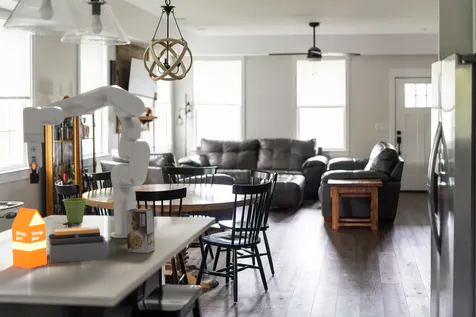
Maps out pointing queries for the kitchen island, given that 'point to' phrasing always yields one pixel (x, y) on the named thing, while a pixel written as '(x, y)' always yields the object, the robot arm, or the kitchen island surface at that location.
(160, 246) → the kitchen island surface
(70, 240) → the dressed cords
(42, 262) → the orange juice
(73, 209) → the plant pot
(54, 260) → the box
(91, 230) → the bar
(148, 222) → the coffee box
